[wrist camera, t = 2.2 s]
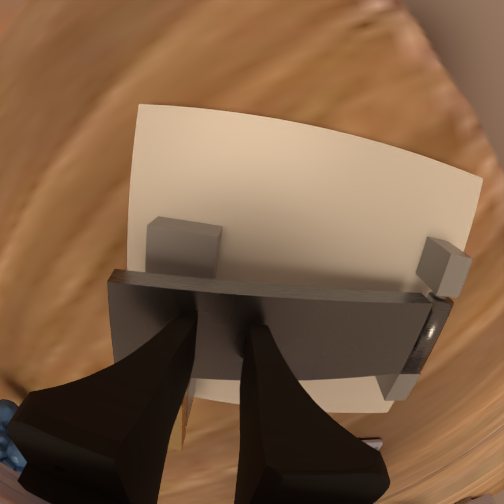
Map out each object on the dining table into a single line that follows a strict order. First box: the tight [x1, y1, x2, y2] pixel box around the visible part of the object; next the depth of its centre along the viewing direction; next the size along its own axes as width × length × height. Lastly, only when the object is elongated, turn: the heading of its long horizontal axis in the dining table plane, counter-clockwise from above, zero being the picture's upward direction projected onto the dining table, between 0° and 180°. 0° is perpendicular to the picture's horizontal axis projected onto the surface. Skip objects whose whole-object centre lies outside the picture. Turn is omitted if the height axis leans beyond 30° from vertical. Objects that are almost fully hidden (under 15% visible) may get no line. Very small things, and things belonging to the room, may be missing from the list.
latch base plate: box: [127, 104, 483, 426], centre depth 15 cm, size 16×17×4 cm
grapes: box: [0, 399, 27, 474], centre depth 17 cm, size 12×7×12 cm, turn 45°
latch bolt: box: [168, 390, 187, 451], centre depth 14 cm, size 4×3×1 cm
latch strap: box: [107, 269, 454, 381], centre depth 12 cm, size 15×4×1 cm, turn 81°
